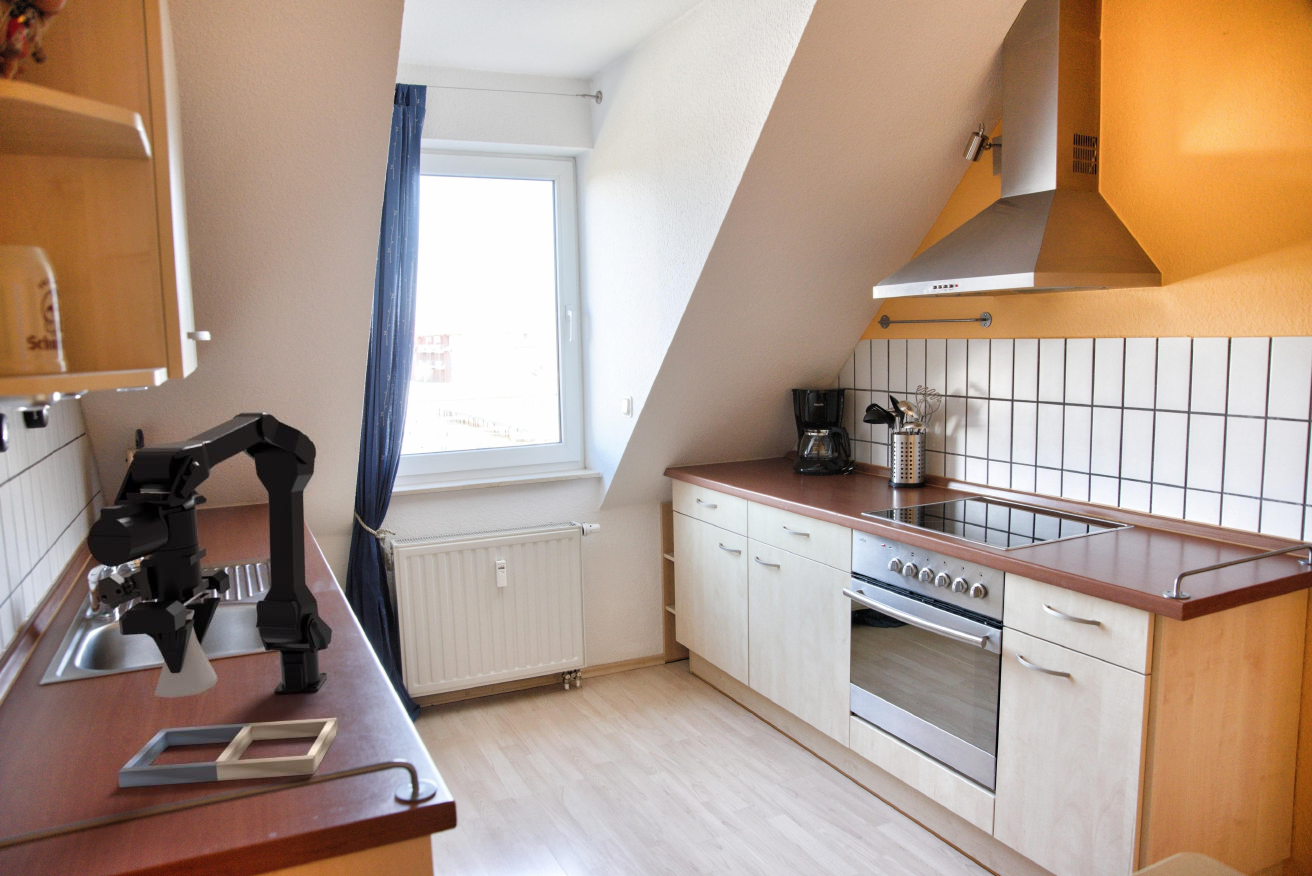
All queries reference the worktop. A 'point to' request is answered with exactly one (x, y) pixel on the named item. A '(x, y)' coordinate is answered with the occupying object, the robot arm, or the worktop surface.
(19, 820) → the worktop surface
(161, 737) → the caddy
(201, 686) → the flask
